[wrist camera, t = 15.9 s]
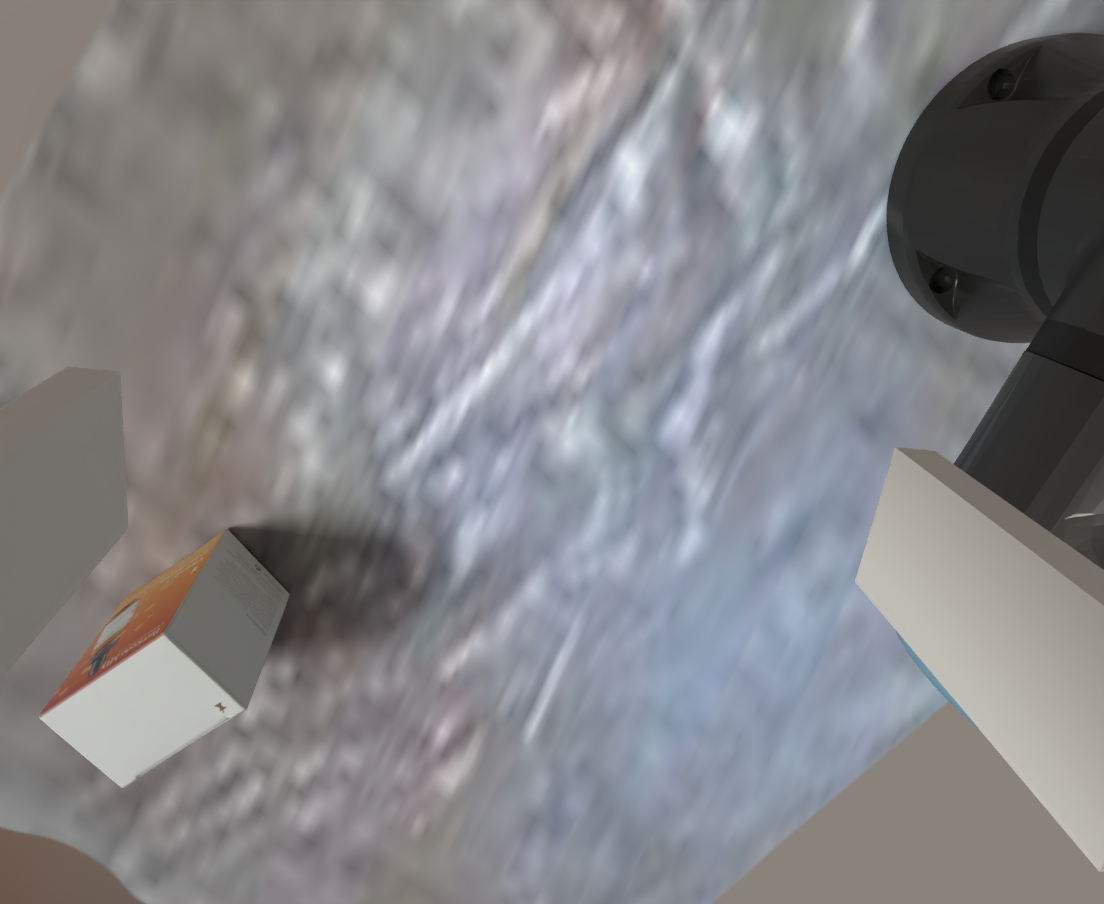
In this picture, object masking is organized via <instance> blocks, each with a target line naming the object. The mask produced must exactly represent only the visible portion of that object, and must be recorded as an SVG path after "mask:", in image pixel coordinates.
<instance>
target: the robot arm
mask: <svg viewBox="0 0 1104 904" xmlns="http://www.w3.org/2000/svg"><path fill="white" fill-rule="evenodd" d="M887 234H888V242H889V247H890V252H891V256H892V259H893V262H894V265H895V268H896V270H897V273H898V275H899V277H900V279H901V281H902V282H903V284H904V286H905V288H906V289H907V290H908V292H909V293H910V295H911V296H912V297H913V298H914V299H915V301H916V302H917V303H918V304H919V305H920V306H921V307H922V308H923V309H924V310H926V311H927V312H928V313H929V314H931V315H932V316H933V317H935V318H936V319H938V320H940V321H942V322H943V323H945V324H947V325H950V326H952V327H954V328H956V329H959V330H961V331H964V332H966V333H969V334H971V335H974V336H977V337H980V338H983V339H987V340H992V341H998V342H1007V343H1030V342H1031V343H1030V345H1029V347H1028V348H1027V349H1026V351H1024V353H1023V354H1022V356H1021V358H1020V359H1019V361H1018V362H1017V364H1016V366H1015V367H1014V369H1013V370H1012V372H1011V374H1010V375H1009V377H1008V379H1007V380H1006V382H1005V383H1004V385H1003V387H1002V388H1001V390H1000V391H999V393H998V395H997V396H996V398H995V399H994V401H993V403H992V404H991V406H990V407H989V409H988V411H987V412H986V414H985V416H984V417H983V419H982V420H981V422H980V424H979V425H978V427H977V428H976V430H975V432H974V433H973V435H972V436H971V438H970V440H969V441H968V443H967V444H966V446H965V447H964V449H963V451H962V452H961V454H960V455H959V457H958V458H957V460H956V461H955V463H954V464H952V463H951V462H950V461H948V460H947V459H945V458H944V457H942V456H941V455H940V454H938V453H937V452H935V451H928V450H918V449H907V448H897V447H895V450H894V453H893V457H892V460H891V463H890V467H889V470H888V473H887V477H886V480H885V483H884V487H883V490H882V493H881V497H880V500H879V503H878V507H877V510H876V513H875V517H874V520H873V523H872V527H871V530H870V533H869V537H868V540H867V543H866V547H865V550H864V553H863V557H862V560H861V563H860V567H859V570H858V573H857V577H856V580H855V582H856V583H857V585H858V586H859V587H860V588H861V589H862V590H863V592H864V593H865V594H866V595H867V596H868V598H869V599H870V600H871V601H872V602H873V604H874V605H875V606H876V607H877V608H878V609H879V611H880V612H881V613H882V614H883V615H884V617H885V618H886V619H887V620H888V621H889V623H890V624H891V625H892V626H893V627H894V628H895V630H896V633H897V635H898V637H899V639H900V640H901V642H902V644H903V645H904V647H905V648H906V650H907V652H908V653H909V655H910V656H911V658H912V659H913V660H914V662H915V663H916V664H917V666H918V667H919V668H920V670H921V671H922V672H923V673H924V674H925V676H926V677H927V678H928V679H929V680H930V681H931V683H932V684H933V685H934V686H935V687H936V688H937V689H938V690H939V691H940V693H941V694H942V695H943V696H944V697H945V698H946V699H947V700H948V701H949V702H950V703H951V704H952V705H953V706H954V707H955V708H956V709H957V710H958V711H960V712H961V713H962V714H963V715H964V716H965V717H966V718H967V719H968V720H969V721H970V722H971V723H972V724H974V725H975V726H976V727H977V728H978V729H979V730H980V731H982V733H983V734H984V735H985V736H986V738H987V739H988V740H989V741H990V742H991V744H992V745H993V746H994V747H995V748H996V750H997V751H998V752H999V753H1000V754H1001V756H1002V757H1003V758H1004V759H1005V760H1006V761H1007V763H1008V764H1009V765H1010V766H1011V767H1012V769H1013V770H1014V771H1015V772H1016V773H1017V774H1018V776H1019V777H1020V778H1021V779H1022V780H1023V782H1024V783H1025V784H1026V785H1027V786H1028V788H1029V789H1030V790H1031V791H1032V792H1033V793H1034V795H1035V796H1036V797H1037V798H1038V799H1039V800H1040V802H1041V803H1042V804H1043V805H1044V807H1045V808H1046V809H1047V810H1048V811H1049V813H1050V814H1051V815H1052V816H1053V817H1054V818H1055V819H1056V821H1057V822H1058V823H1059V824H1060V826H1061V827H1062V828H1063V829H1064V830H1065V831H1066V833H1067V834H1068V835H1069V836H1070V837H1071V838H1072V840H1073V841H1074V842H1075V843H1076V845H1077V846H1078V847H1079V848H1080V849H1081V850H1082V852H1083V853H1084V854H1085V855H1086V856H1087V858H1088V859H1089V860H1090V861H1091V862H1092V864H1093V865H1094V866H1095V867H1096V868H1097V869H1098V871H1099V872H1104V35H1099V34H1091V33H1070V34H1061V35H1054V36H1047V37H1040V38H1033V39H1029V40H1024V41H1020V42H1017V43H1014V44H1010V45H1008V46H1005V47H1003V48H1000V49H998V50H996V51H994V52H992V53H990V54H988V55H986V56H984V57H982V58H981V59H979V60H977V61H976V62H974V63H973V64H971V65H970V66H968V67H967V68H966V69H964V70H963V71H962V72H960V73H959V74H958V75H957V76H956V77H954V78H953V79H952V80H951V81H950V82H949V83H948V84H947V85H946V86H945V87H944V88H943V89H942V90H941V91H940V92H939V93H938V94H937V95H936V96H935V97H934V99H933V100H932V101H931V102H930V103H929V105H928V106H927V107H926V108H925V110H924V111H923V113H922V114H921V115H920V117H919V118H918V120H917V121H916V123H915V125H914V126H913V128H912V130H911V131H910V133H909V135H908V137H907V139H906V141H905V143H904V145H903V148H902V150H901V152H900V154H899V157H898V160H897V163H896V165H895V169H894V172H893V175H892V180H891V184H890V189H889V195H888V203H887ZM127 529H128V512H127V493H126V474H125V454H124V435H123V416H122V397H121V378H120V372H119V371H109V370H99V369H89V368H79V367H67V368H65V369H64V370H62V371H60V372H59V373H57V374H55V375H54V376H52V377H50V378H49V379H47V380H45V381H44V382H42V383H40V384H39V385H37V386H36V387H34V388H32V389H31V390H29V391H27V392H26V393H24V394H22V395H21V396H19V397H17V398H16V399H14V400H13V401H11V402H9V403H8V404H6V405H4V406H3V407H1V408H0V680H1V679H2V678H3V676H4V675H5V674H6V673H7V672H8V670H9V669H10V668H11V667H12V666H13V664H14V663H15V662H16V661H17V660H18V659H19V657H20V656H21V655H22V654H23V653H24V651H25V650H26V649H27V648H28V647H29V645H30V644H31V643H32V642H33V641H34V639H35V638H36V637H37V636H38V635H39V634H40V632H41V631H42V630H43V629H44V628H45V626H46V625H47V624H48V623H49V622H50V620H51V619H52V618H53V617H54V616H55V615H56V613H57V612H58V611H59V610H60V609H61V607H62V606H63V605H64V604H65V603H66V601H67V600H68V599H69V598H70V597H71V595H72V594H73V593H74V592H75V591H76V590H77V588H78V587H79V586H80V585H81V584H82V582H83V581H84V580H85V579H86V578H87V576H88V575H89V574H90V573H91V572H92V571H93V569H94V568H95V567H96V566H97V565H98V563H99V562H100V561H101V560H102V559H103V557H104V556H105V555H106V554H107V553H108V551H109V550H110V549H111V548H112V547H113V546H114V544H115V543H116V542H117V541H118V540H119V538H120V537H121V536H122V535H123V534H124V532H125V531H126V530H127Z"/></svg>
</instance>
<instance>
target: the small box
mask: <svg viewBox="0 0 1104 904" xmlns="http://www.w3.org/2000/svg"><path fill="white" fill-rule="evenodd" d="M289 596H290V594H289V593H288V592H287V591H286V590H285V589H284V588H283V586H282V585H281V584H280V583H279V582H278V581H277V580H276V579H275V578H274V577H273V576H272V575H271V574H270V573H269V572H268V571H267V570H266V569H265V568H264V567H263V566H262V565H261V564H260V563H259V562H258V560H257V559H256V558H255V557H254V556H253V555H252V554H251V553H250V552H249V551H248V550H247V549H246V548H245V547H244V546H243V545H242V544H241V543H240V542H239V541H238V540H237V538H236V537H235V536H234V535H233V534H232V533H231V532H230V531H229V530H228V529H225V530H223V531H222V532H221V533H219V534H218V535H216V536H215V537H214V538H212V539H211V540H210V541H209V542H207V543H206V544H204V545H203V546H202V547H200V548H199V549H197V550H196V551H194V552H193V553H192V554H190V555H189V556H187V557H186V558H184V559H183V560H181V561H180V562H178V563H177V564H175V565H174V566H172V567H171V568H169V569H168V570H166V571H165V572H163V573H162V574H160V575H159V576H157V577H156V578H154V579H153V580H151V581H150V582H148V583H147V584H145V585H144V586H142V587H141V588H139V589H138V590H136V591H135V592H133V593H132V594H130V595H129V596H127V597H126V598H125V599H124V600H123V601H122V603H121V604H120V606H119V607H118V609H117V610H116V611H115V613H114V614H113V616H112V617H111V618H110V620H109V621H108V622H107V624H106V625H105V626H104V628H103V629H102V630H101V632H100V633H99V634H98V636H97V637H96V639H95V640H94V641H93V643H92V644H91V646H90V647H89V648H88V650H87V651H86V653H85V654H84V655H83V657H82V658H81V660H80V661H79V662H78V663H77V665H76V666H75V667H74V669H73V670H72V671H71V673H70V674H69V675H68V677H67V678H66V680H65V681H64V682H63V684H62V685H61V687H60V688H59V689H58V691H57V692H56V693H55V695H54V696H53V697H52V699H51V700H50V701H49V703H48V704H47V706H46V707H45V708H44V710H43V711H42V712H41V714H40V715H39V717H40V719H41V720H42V721H43V722H45V723H46V724H47V725H48V726H49V727H50V728H51V729H52V730H54V731H55V732H56V733H57V734H58V735H59V736H61V737H62V738H63V739H64V740H65V741H67V742H68V743H69V744H70V745H71V746H73V747H74V748H75V749H76V750H77V751H78V752H80V753H81V754H82V755H83V756H84V757H86V758H87V759H88V760H89V761H90V762H92V763H93V764H94V765H95V766H96V767H97V768H99V769H100V770H101V771H102V772H103V773H105V774H106V775H107V776H108V777H109V778H111V779H112V780H113V781H114V782H115V783H117V784H118V785H119V786H120V787H122V788H124V787H126V786H128V785H129V784H131V783H132V782H133V781H135V780H136V779H138V778H139V777H140V776H142V775H143V774H145V773H146V772H148V771H149V770H151V769H152V768H154V767H155V766H157V765H158V764H160V763H161V762H163V761H164V760H166V759H167V758H169V757H170V756H172V755H174V754H175V753H177V752H178V751H180V750H181V749H183V748H185V747H186V746H188V745H189V744H191V743H192V742H194V741H196V740H197V739H199V738H200V737H202V736H203V735H205V734H207V733H208V732H210V731H211V730H213V729H215V728H216V727H218V726H220V725H221V724H223V723H224V722H226V721H228V720H230V719H232V718H234V717H235V716H237V715H239V714H241V713H242V712H244V711H246V709H247V707H248V704H249V702H250V699H251V696H252V694H253V691H254V689H255V686H256V683H257V681H258V678H259V675H260V673H261V670H262V668H263V665H264V662H265V660H266V657H267V655H268V652H269V650H270V647H271V644H272V642H273V639H274V636H275V634H276V631H277V629H278V626H279V623H280V621H281V618H282V615H283V613H284V610H285V607H286V605H287V602H288V599H289Z"/></svg>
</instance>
